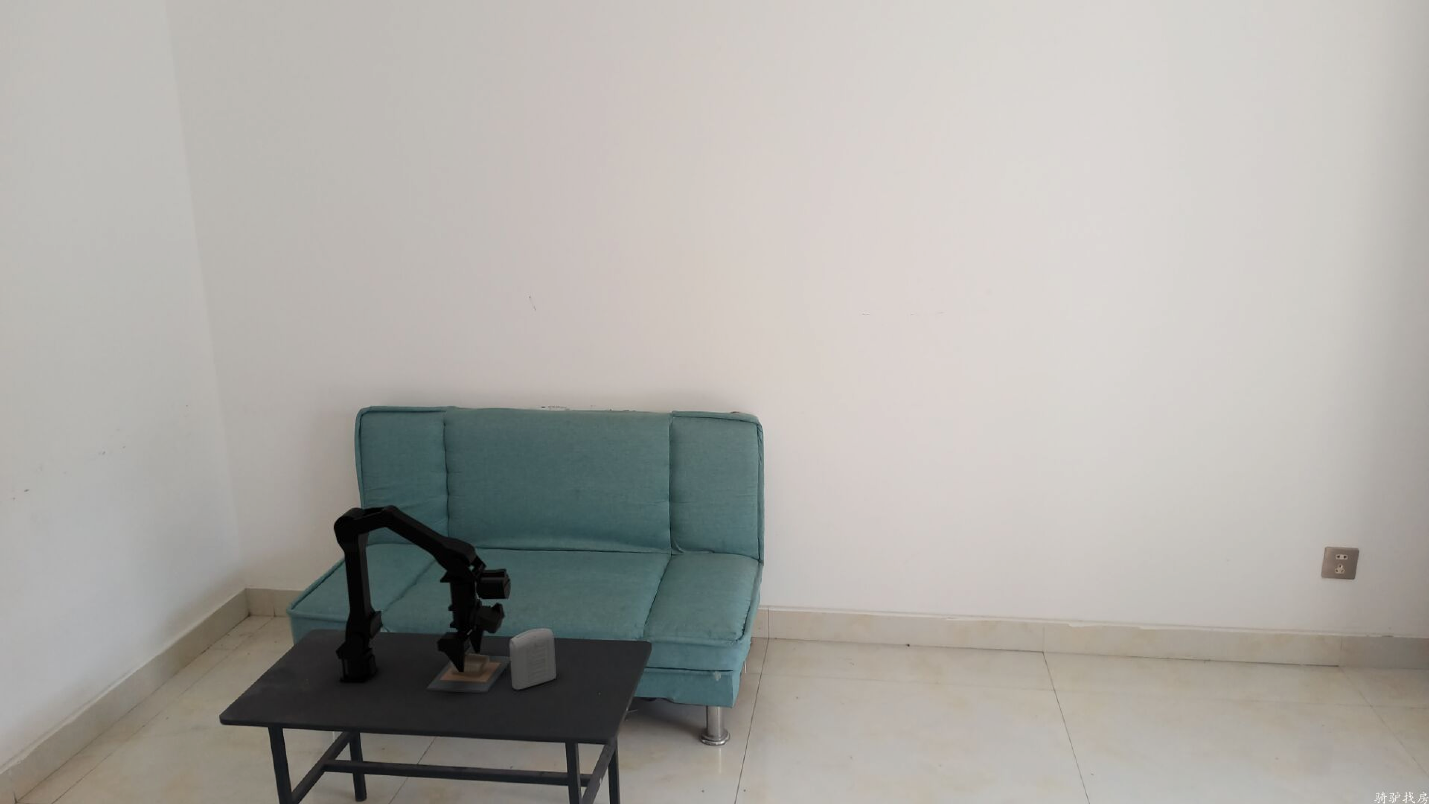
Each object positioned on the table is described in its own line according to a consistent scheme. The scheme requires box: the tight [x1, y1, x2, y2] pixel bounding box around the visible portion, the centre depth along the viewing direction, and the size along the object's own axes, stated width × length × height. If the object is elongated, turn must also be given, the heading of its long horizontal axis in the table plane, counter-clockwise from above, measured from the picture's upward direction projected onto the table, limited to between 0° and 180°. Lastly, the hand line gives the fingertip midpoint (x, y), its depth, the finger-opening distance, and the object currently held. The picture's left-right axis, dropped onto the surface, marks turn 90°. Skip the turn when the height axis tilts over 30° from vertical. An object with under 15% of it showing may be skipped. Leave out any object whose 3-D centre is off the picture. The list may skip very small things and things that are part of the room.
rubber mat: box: [426, 655, 511, 694], centre depth 216 cm, size 14×16×1 cm
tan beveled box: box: [451, 651, 490, 678], centre depth 215 cm, size 5×7×3 cm
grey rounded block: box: [508, 627, 557, 691], centre depth 210 cm, size 10×4×12 cm, turn 123°
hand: (469, 662), depth 215 cm, fingers open, 9 cm apart
